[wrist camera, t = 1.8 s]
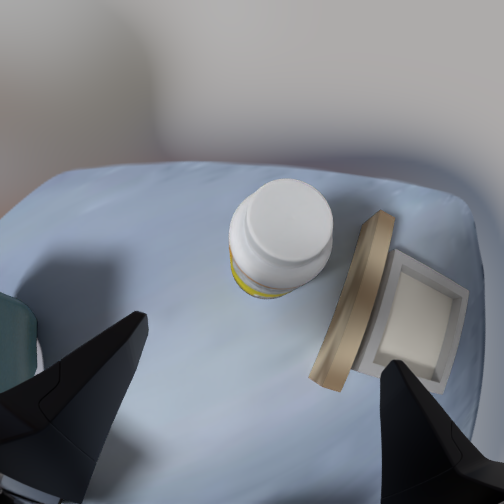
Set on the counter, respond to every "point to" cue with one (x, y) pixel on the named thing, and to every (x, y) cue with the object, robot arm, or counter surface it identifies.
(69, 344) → the counter surface
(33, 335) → the flower pot
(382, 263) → the oak sill
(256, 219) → the supplement bottle
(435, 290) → the square tray
